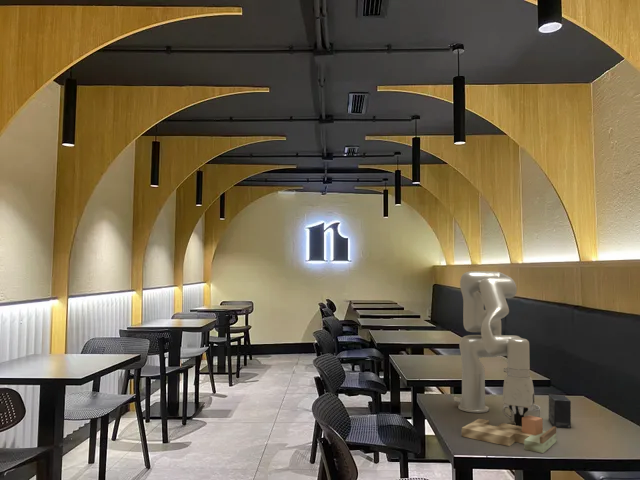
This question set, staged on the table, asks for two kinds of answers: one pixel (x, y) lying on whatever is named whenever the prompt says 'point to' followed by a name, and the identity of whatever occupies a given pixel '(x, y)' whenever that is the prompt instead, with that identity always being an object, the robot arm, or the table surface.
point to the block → (532, 425)
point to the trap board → (509, 435)
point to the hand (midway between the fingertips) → (519, 425)
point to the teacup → (531, 413)
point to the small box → (559, 411)
